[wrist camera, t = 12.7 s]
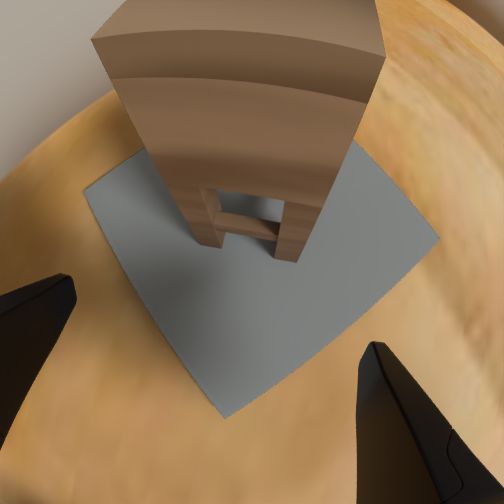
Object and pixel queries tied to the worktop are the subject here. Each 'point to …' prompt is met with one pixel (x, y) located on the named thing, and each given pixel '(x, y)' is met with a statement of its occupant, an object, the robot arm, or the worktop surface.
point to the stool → (245, 102)
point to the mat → (258, 272)
